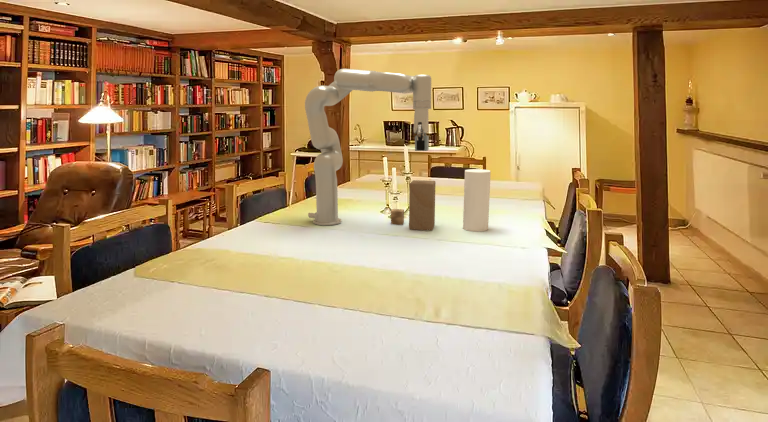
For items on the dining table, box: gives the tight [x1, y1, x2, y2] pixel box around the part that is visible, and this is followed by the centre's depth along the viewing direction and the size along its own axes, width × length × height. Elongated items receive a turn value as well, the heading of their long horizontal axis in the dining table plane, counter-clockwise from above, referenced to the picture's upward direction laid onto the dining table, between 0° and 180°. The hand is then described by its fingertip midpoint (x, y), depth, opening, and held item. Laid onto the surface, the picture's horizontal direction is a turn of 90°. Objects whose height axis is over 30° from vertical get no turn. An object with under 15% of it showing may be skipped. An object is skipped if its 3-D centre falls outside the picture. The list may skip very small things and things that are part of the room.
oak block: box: [390, 208, 405, 226], centre depth 231 cm, size 5×5×6 cm
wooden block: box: [408, 179, 436, 231], centre depth 221 cm, size 10×10×20 cm
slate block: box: [414, 135, 430, 152], centre depth 216 cm, size 5×5×6 cm
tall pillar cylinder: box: [462, 168, 492, 232], centre depth 219 cm, size 11×11×25 cm
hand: (421, 149), depth 216 cm, fingers closed on slate block, 5 cm apart
